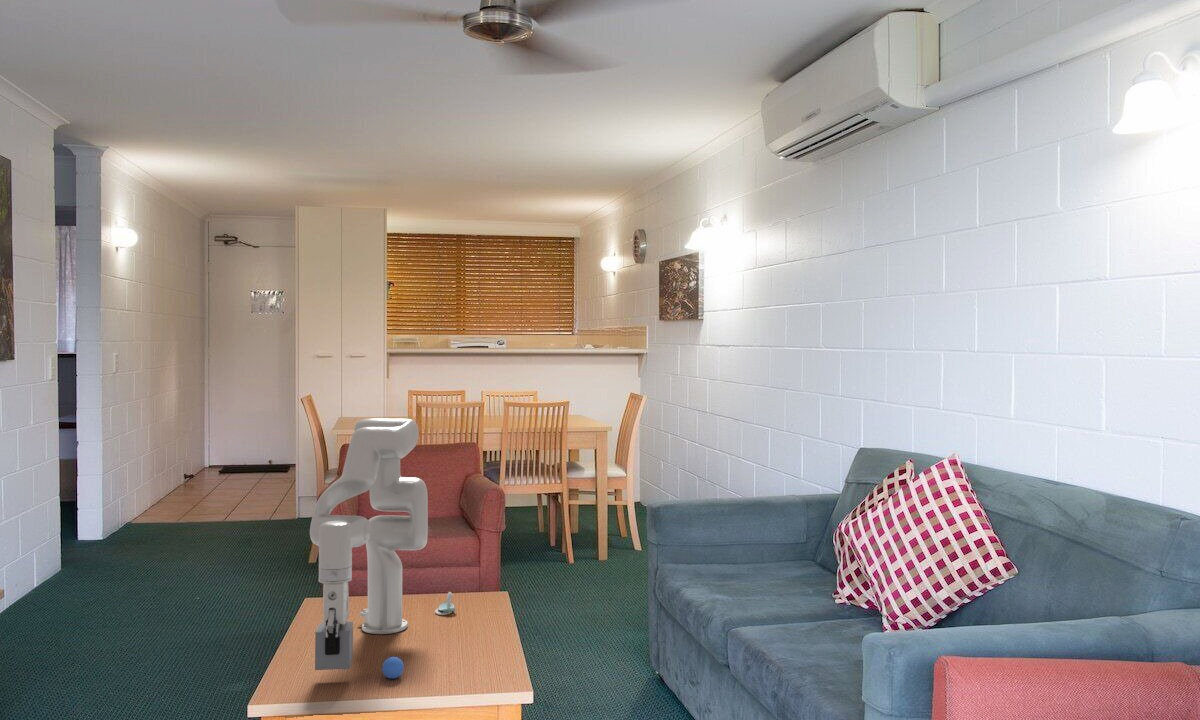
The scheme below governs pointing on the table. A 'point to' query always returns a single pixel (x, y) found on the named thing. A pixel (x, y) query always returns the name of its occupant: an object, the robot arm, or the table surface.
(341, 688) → the table surface
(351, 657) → the gray foam cube
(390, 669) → the ball
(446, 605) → the pacifier
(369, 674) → the table surface
